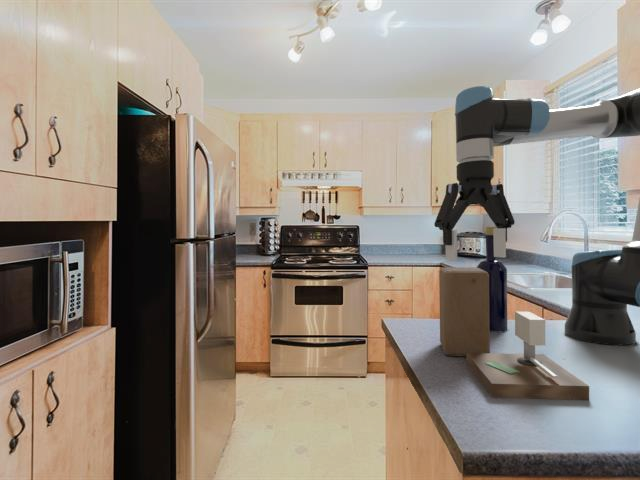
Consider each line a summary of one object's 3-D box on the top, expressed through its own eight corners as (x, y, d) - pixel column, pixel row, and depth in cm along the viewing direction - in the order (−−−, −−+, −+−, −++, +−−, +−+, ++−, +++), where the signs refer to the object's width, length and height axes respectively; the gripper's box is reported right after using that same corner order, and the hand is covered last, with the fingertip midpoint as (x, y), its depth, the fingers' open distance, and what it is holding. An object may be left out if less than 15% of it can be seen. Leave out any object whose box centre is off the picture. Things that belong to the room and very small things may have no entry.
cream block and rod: (529, 353, 78) (528, 311, 78) (563, 379, 64) (563, 329, 64) (515, 352, 78) (514, 311, 78) (546, 378, 65) (546, 328, 64)
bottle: (515, 331, 104) (514, 226, 103) (482, 332, 104) (481, 227, 104) (499, 323, 114) (499, 226, 113) (469, 323, 114) (468, 227, 113)
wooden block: (490, 359, 83) (490, 271, 83) (444, 356, 85) (443, 271, 85) (480, 345, 93) (480, 266, 93) (439, 343, 95) (438, 266, 95)
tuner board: (543, 365, 79) (543, 352, 79) (589, 399, 63) (589, 384, 63) (466, 363, 81) (466, 351, 81) (492, 396, 65) (491, 381, 65)
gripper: (503, 166, 88) (505, 254, 89) (416, 163, 79) (418, 260, 80) (531, 161, 81) (532, 256, 82) (439, 156, 72) (441, 263, 73)
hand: (476, 258), depth 81 cm, fingers open, 13 cm apart
